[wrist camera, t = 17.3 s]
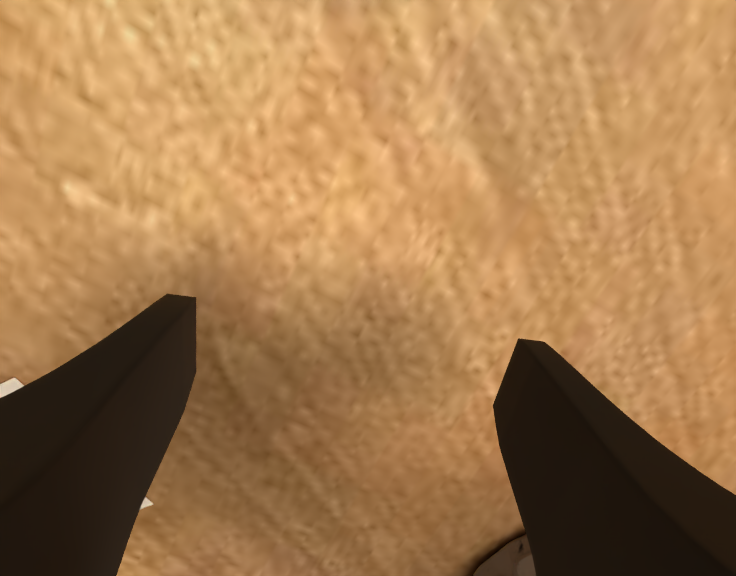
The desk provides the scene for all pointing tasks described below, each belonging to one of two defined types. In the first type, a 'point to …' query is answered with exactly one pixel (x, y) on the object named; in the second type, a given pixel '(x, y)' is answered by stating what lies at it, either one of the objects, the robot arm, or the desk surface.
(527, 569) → the decorative lamp
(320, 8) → the desk surface
